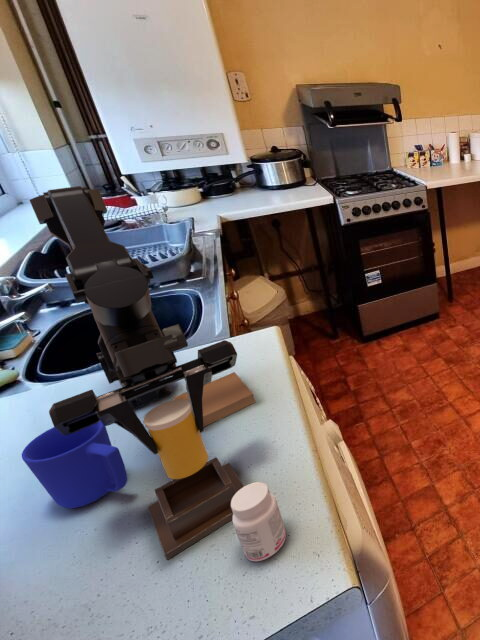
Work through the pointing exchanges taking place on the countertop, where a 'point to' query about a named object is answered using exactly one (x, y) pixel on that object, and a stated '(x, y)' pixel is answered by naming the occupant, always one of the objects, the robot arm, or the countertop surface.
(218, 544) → the countertop surface
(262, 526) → the pill bottle
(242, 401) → the wooden pad
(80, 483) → the mug
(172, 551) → the stand
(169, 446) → the yellow canister
